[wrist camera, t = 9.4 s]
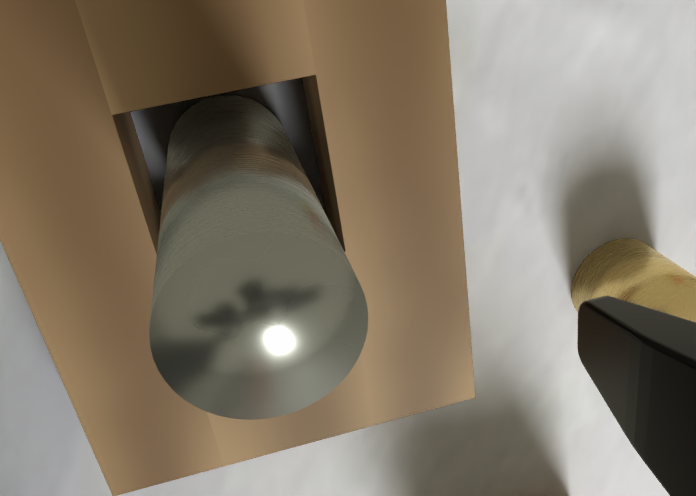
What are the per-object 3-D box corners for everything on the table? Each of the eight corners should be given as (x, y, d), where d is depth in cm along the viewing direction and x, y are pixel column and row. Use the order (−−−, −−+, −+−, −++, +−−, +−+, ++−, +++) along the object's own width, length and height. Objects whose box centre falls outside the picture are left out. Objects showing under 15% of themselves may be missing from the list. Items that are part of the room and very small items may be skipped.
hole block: (121, 432, 23) (113, 496, 20) (-120, -165, 15) (-188, -188, 12) (444, 348, 24) (475, 397, 22) (387, -235, 16) (425, -269, 14)
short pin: (570, 331, 25) (632, 394, 22) (571, 250, 24) (637, 304, 20) (653, 308, 26) (726, 366, 22) (659, 228, 24) (740, 277, 21)
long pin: (185, 221, 20) (182, 442, 11) (152, 108, 18) (119, 263, 10) (299, 196, 21) (381, 389, 12) (276, 84, 19) (351, 210, 10)
